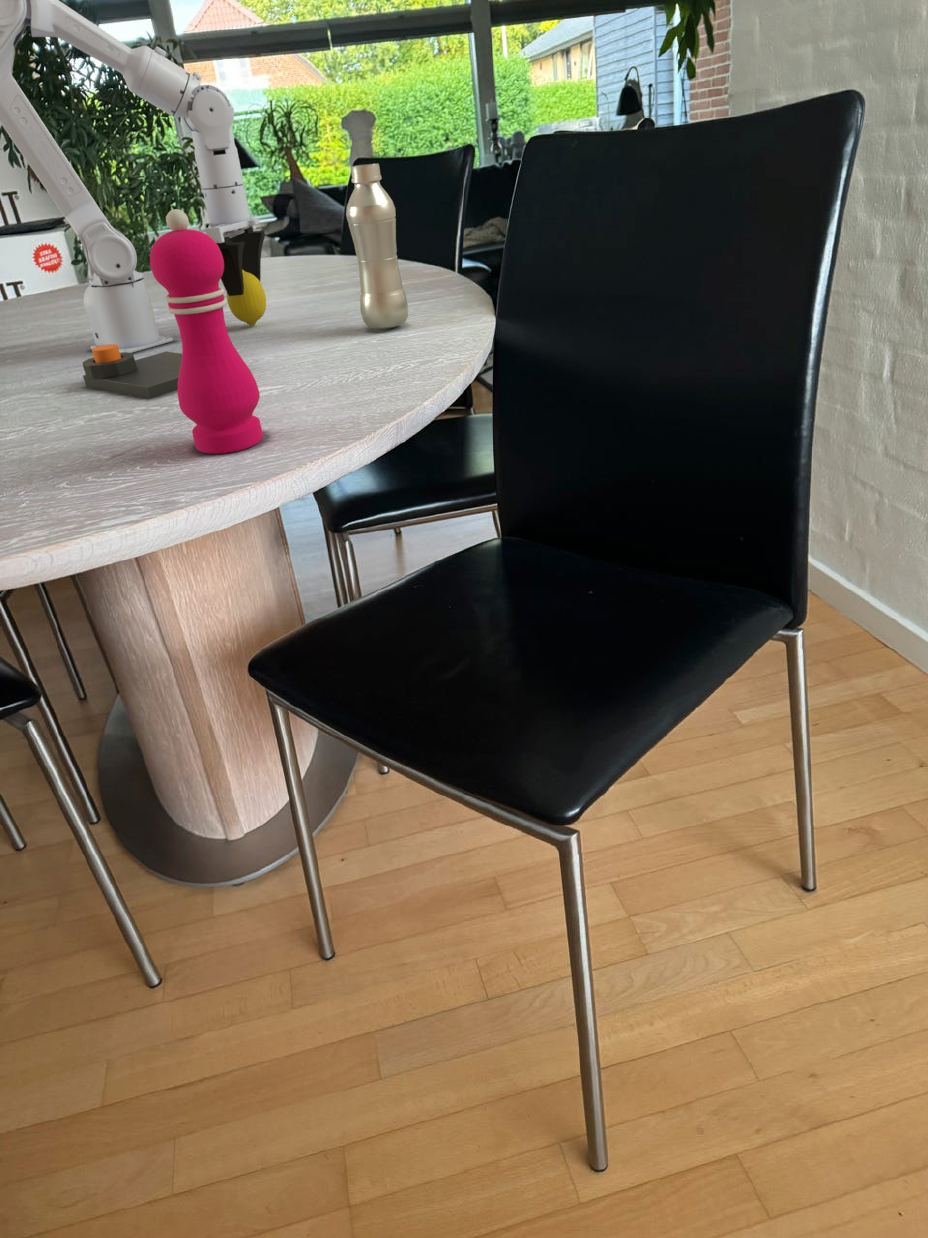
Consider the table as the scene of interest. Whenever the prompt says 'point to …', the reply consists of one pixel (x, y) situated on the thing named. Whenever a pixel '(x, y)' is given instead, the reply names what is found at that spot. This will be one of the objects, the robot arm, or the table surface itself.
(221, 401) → the pepper mill
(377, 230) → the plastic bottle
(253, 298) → the lemon
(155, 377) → the grey peg base
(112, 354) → the button
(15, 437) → the table surface
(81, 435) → the table surface
